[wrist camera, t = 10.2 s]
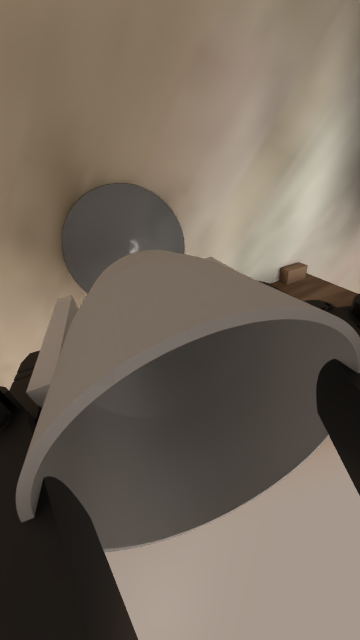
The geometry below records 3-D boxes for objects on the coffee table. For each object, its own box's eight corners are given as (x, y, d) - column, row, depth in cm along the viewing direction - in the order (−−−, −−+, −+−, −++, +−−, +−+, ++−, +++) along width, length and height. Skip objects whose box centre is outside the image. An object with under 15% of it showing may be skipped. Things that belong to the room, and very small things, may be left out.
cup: (174, 356, 17) (250, 516, 8) (55, 335, 13) (-14, 593, 5) (226, 257, 14) (414, 354, 6) (95, 192, 10) (97, 201, 2)
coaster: (36, 197, 18) (34, 198, 17) (172, 172, 20) (174, 172, 20) (91, 316, 25) (91, 319, 24) (189, 288, 27) (190, 289, 26)
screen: (175, 299, 27) (219, 361, 17) (307, 259, 31) (406, 292, 21) (182, 336, 30) (223, 406, 20) (301, 296, 34) (383, 340, 24)
